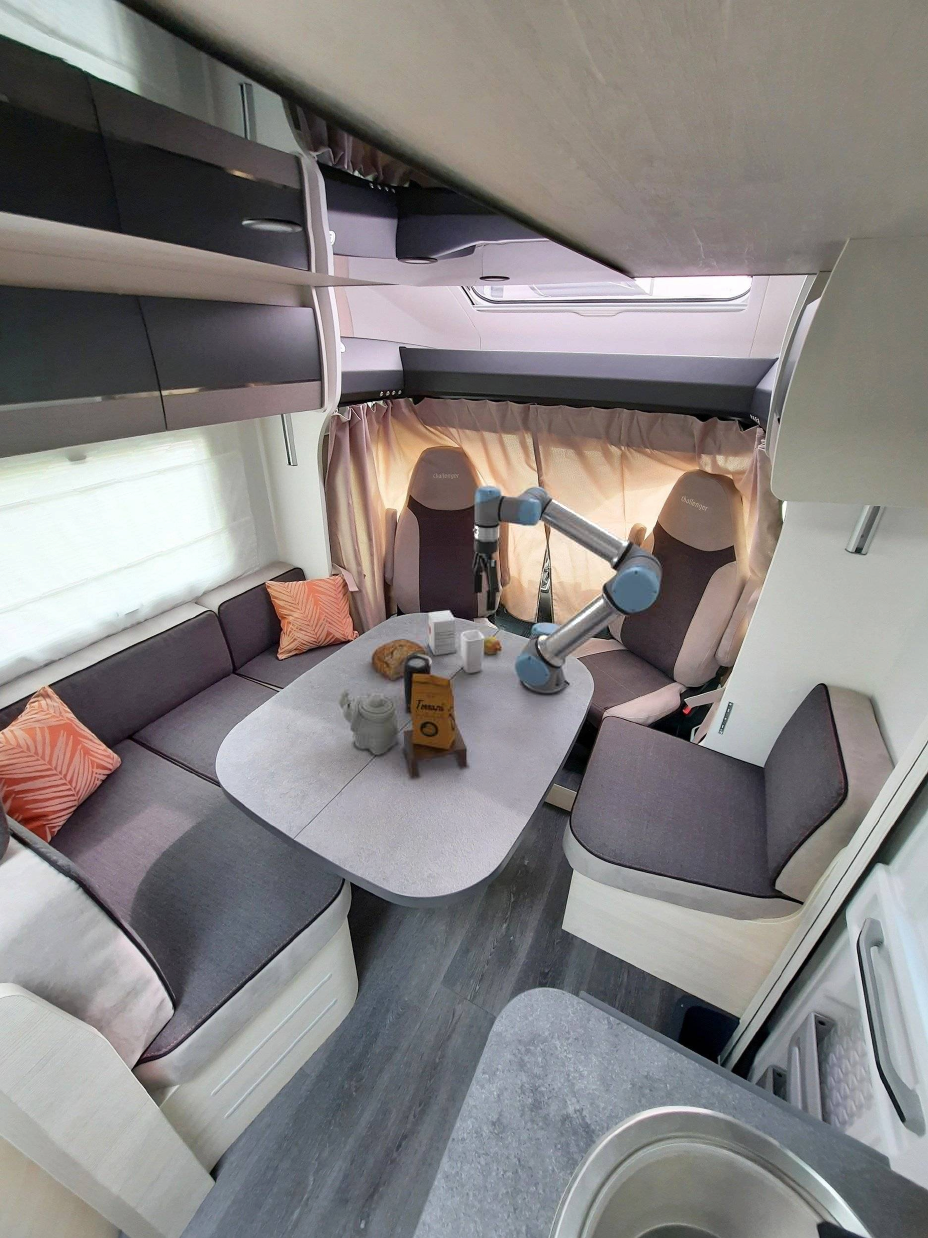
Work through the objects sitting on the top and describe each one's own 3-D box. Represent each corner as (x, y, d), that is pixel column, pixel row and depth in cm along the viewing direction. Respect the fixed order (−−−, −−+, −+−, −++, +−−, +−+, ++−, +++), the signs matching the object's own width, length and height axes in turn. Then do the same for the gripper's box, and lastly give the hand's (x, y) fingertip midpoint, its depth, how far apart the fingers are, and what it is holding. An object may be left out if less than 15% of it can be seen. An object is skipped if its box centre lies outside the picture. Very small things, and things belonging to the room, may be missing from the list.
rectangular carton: (428, 644, 209) (427, 612, 202) (449, 641, 211) (449, 609, 204) (433, 656, 201) (433, 622, 194) (455, 652, 203) (456, 619, 197)
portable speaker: (412, 722, 165) (409, 671, 156) (401, 706, 172) (398, 657, 163) (436, 714, 168) (435, 664, 159) (424, 699, 176) (422, 650, 166)
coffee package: (449, 755, 141) (449, 690, 131) (407, 746, 144) (404, 681, 134) (460, 733, 150) (460, 670, 139) (420, 724, 153) (418, 662, 143)
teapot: (341, 731, 160) (335, 681, 152) (388, 719, 166) (385, 670, 157) (353, 765, 147) (347, 713, 138) (403, 751, 152) (401, 700, 144)
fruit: (475, 639, 202) (494, 647, 196) (486, 629, 206) (505, 637, 199) (477, 652, 206) (496, 660, 200) (488, 642, 210) (507, 650, 204)
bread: (389, 684, 183) (388, 660, 179) (363, 663, 196) (361, 640, 191) (434, 664, 195) (434, 642, 191) (407, 645, 208) (406, 624, 203)
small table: (455, 740, 157) (455, 722, 154) (466, 767, 147) (466, 748, 144) (404, 749, 153) (403, 731, 150) (411, 777, 143) (411, 758, 140)
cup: (484, 672, 191) (485, 638, 184) (466, 676, 189) (467, 641, 182) (476, 662, 197) (477, 629, 190) (459, 666, 195) (459, 632, 188)
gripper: (463, 527, 165) (462, 587, 175) (487, 553, 144) (484, 619, 154) (485, 525, 167) (483, 584, 177) (512, 550, 146) (508, 616, 156)
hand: (483, 601), depth 166 cm, fingers open, 13 cm apart
